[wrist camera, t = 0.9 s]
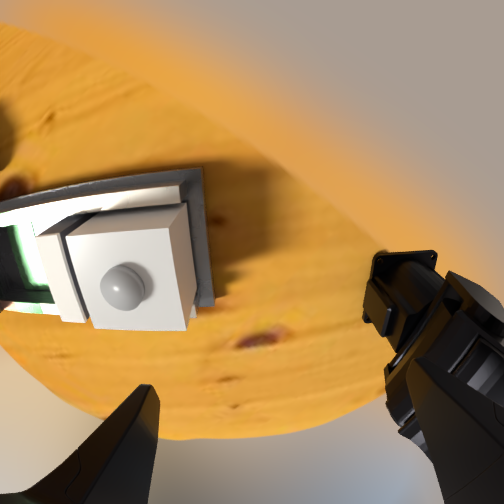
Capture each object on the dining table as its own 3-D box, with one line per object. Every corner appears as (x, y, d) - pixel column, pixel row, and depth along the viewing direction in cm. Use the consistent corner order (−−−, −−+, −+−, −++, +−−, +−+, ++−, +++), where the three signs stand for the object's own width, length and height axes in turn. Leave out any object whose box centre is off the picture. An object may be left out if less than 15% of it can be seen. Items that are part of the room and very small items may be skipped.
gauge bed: (202, 166, 18) (186, 182, 12) (215, 299, 22) (209, 352, 16) (-24, 208, 17) (-63, 229, 12) (3, 296, 21) (-27, 327, 16)
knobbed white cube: (186, 202, 17) (165, 232, 12) (196, 287, 20) (184, 337, 15) (101, 210, 17) (59, 240, 12) (119, 289, 19) (91, 334, 15)
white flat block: (89, 212, 17) (56, 234, 13) (108, 289, 19) (85, 322, 16) (68, 215, 17) (33, 237, 13) (87, 289, 19) (62, 321, 15)
